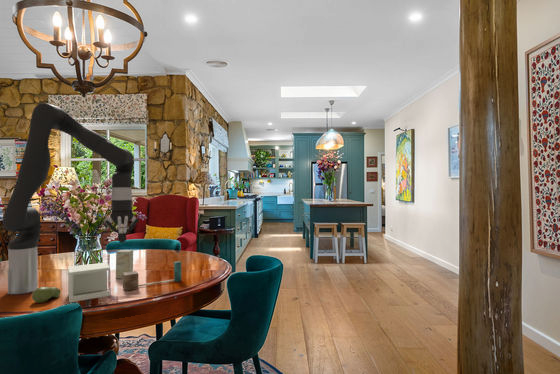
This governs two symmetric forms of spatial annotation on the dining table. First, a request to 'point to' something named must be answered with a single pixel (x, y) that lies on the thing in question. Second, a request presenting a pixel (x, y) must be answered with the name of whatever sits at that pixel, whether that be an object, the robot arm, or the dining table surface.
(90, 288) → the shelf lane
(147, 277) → the dining table surface
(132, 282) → the block with cord
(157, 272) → the dining table surface
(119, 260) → the skincare box
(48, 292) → the pear
